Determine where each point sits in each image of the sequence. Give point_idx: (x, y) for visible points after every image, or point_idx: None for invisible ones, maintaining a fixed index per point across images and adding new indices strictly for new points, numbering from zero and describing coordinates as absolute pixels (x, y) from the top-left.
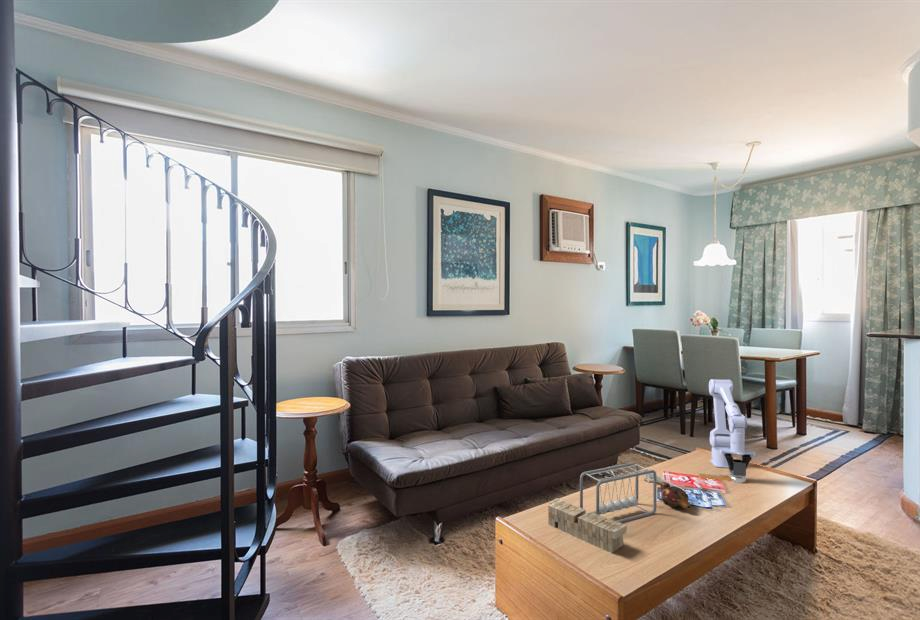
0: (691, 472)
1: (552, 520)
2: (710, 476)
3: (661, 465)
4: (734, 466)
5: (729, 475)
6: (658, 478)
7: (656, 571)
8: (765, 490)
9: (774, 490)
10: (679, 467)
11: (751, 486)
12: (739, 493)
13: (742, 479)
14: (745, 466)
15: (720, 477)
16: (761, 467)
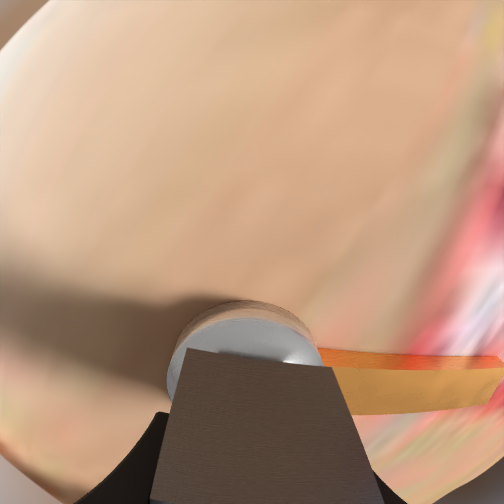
0: (459, 436)
1: None
2: (466, 370)
3: (493, 463)
4: (353, 454)
5: None
6: None
7: None
8: (109, 114)
9: (35, 129)
10: (452, 472)
11: (192, 215)
12: (424, 58)
13: (238, 320)
14: (169, 450)
15: (410, 368)
16: (21, 469)
